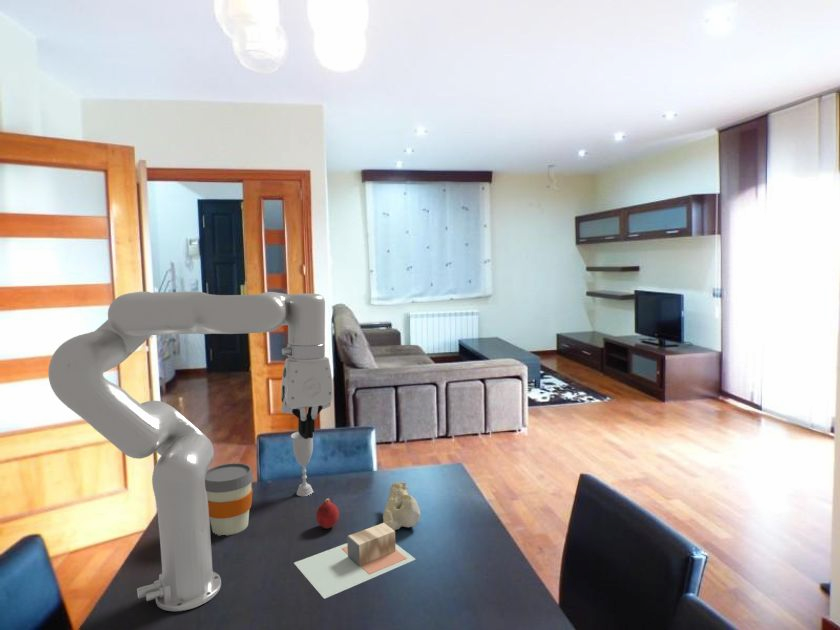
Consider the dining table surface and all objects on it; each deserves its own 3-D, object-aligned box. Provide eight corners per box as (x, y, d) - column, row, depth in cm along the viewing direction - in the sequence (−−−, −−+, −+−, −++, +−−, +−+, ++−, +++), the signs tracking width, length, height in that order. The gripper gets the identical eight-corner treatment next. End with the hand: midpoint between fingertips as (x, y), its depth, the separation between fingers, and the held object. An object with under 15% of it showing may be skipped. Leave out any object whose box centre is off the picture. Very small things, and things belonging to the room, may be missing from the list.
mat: (324, 601, 105) (324, 598, 105) (293, 564, 118) (293, 562, 118) (416, 561, 118) (415, 558, 118) (379, 532, 131) (379, 530, 131)
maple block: (357, 545, 115) (395, 531, 121) (347, 536, 119) (383, 522, 125) (358, 566, 115) (395, 551, 121) (347, 556, 120) (384, 542, 125)
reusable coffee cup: (202, 543, 128) (199, 485, 126) (206, 519, 139) (203, 466, 138) (255, 533, 132) (252, 477, 130) (254, 512, 143) (252, 460, 142)
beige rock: (413, 550, 126) (441, 496, 135) (392, 533, 124) (422, 479, 133) (382, 543, 139) (410, 494, 147) (363, 527, 137) (392, 478, 145)
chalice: (313, 497, 152) (311, 438, 150) (290, 498, 152) (287, 438, 150) (318, 487, 159) (316, 430, 157) (296, 487, 159) (294, 430, 157)
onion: (334, 535, 130) (333, 505, 129) (313, 533, 131) (312, 503, 130) (342, 524, 136) (341, 495, 135) (322, 522, 137) (320, 493, 136)
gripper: (278, 357, 101) (278, 448, 103) (346, 352, 110) (345, 435, 111) (265, 352, 107) (266, 437, 109) (331, 347, 116) (330, 426, 117)
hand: (306, 436), depth 110 cm, fingers closed
